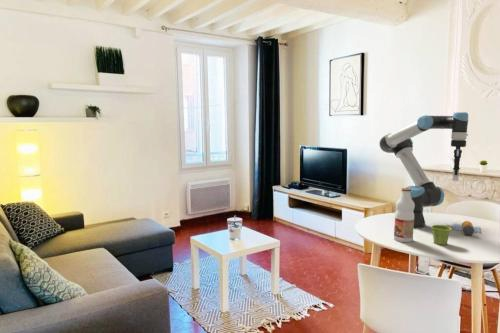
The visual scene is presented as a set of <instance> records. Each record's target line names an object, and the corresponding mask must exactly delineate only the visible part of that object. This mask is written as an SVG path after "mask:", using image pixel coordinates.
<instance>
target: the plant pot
mask: <svg viewBox="0 0 500 333" xmlns="http://www.w3.org/2000/svg"><path fill="white" fill-rule="evenodd" d="M431 230H432V238H433V239H432V240H433V244H435V245H440V246H446V245H448V241H449V237H450V233H451V231H452V227H451V226H448V225H442V224H433V225H431Z"/></svg>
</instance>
